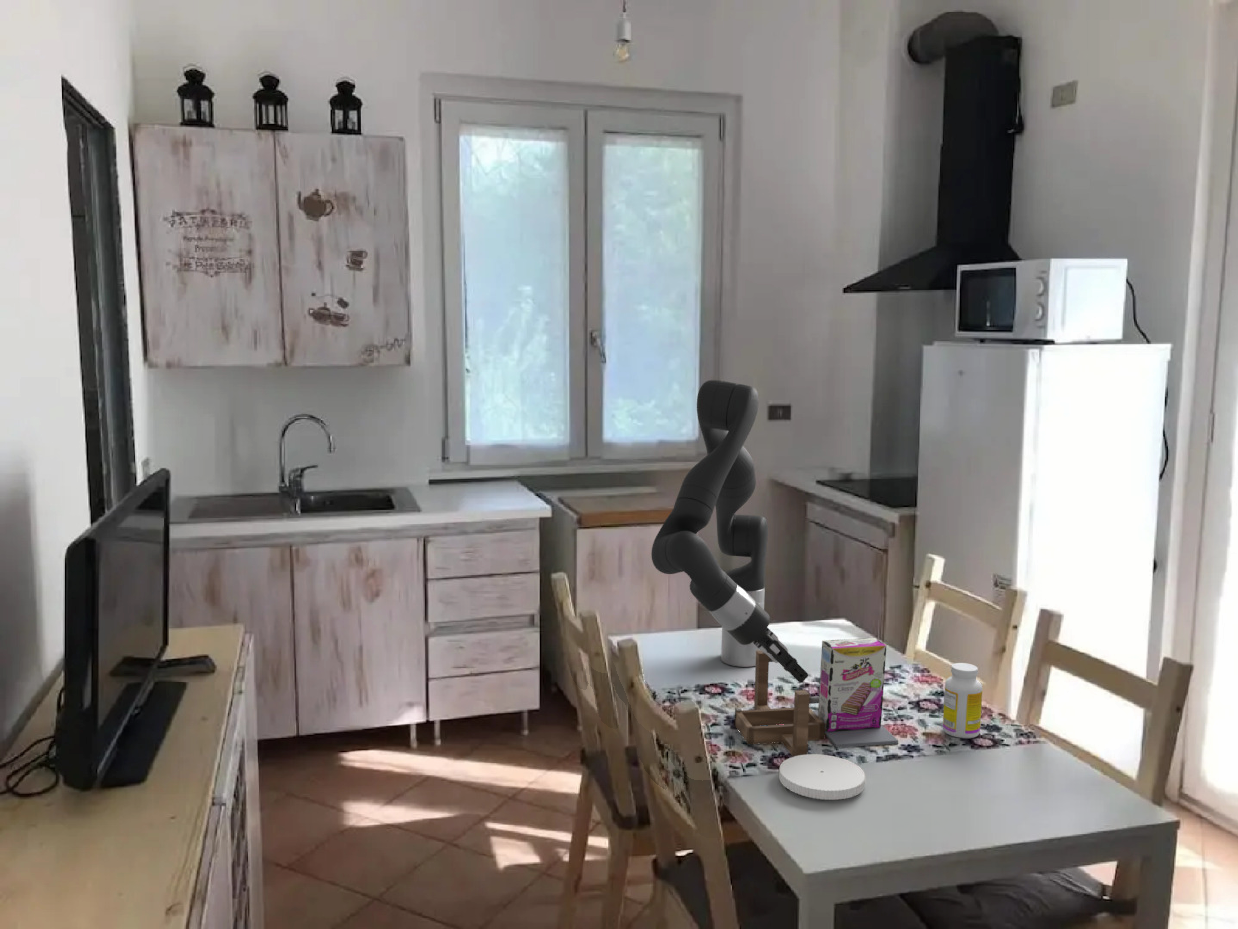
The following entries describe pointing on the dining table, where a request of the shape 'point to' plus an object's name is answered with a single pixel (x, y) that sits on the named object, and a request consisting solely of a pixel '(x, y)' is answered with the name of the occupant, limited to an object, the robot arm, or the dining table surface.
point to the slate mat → (860, 737)
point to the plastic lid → (822, 776)
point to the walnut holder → (779, 716)
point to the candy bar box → (851, 684)
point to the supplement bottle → (962, 702)
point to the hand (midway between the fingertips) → (796, 671)
